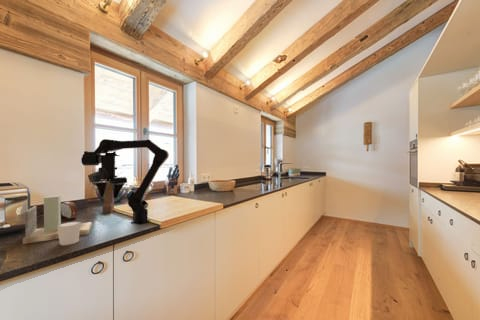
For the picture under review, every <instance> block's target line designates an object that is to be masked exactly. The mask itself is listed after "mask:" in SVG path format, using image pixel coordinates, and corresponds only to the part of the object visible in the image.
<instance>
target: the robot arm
mask: <svg viewBox="0 0 480 320" xmlns="http://www.w3.org/2000/svg"><path fill="white" fill-rule="evenodd" d="M143 148H144V149H145V148H146V149H148V150H149V151H150V152H151V153H152V154H154V156H153V159H152V162H151V163H152V164H151V165H150V168H149V169H148V171H147V173H145V176H144V178H143V179H142V182H141V184H140V185H139V186H138V189H134V190H132V191H131V192H130V195H129V197H128V198H127V200H128V201H127V204H128V205H127V206H129V207H130V209H131V211H132V221H130V223H131V224H136V225H142V224H145V223H147V222H150V221H149V220H150V219H148V217H149V216H148V213H149V212H148V209H147V208H148V206H149V203H148V202H147V201H146V200H145V199H146V195H147V191H148V190H149V187H150V186H151V184H152V182H153V180H154V178H155V177H156V175H157V173H158V172H159V169H160V168H161V166H163V165H164V163H165V162H167V160H168V159H169V151H167V150H166V149H162V148H161V147H159V146H158V145H157V143H156V144H155V142H154V141H153V140H151V139H143V140H140V139H139V140H116V139H115V140H114V139H107V138H105V139H102V140H101V141H100V142H99V145H98V146H97V148H96V149H95V150H94V151H89V150H88V151H87V150H86V151H83V154H82V156H81V164H82V165H83V167H84V166H99V165H100V166H101V167H99V168H98V171H95V172H93V173H90V174H88V175H87V177H88V180H89V183H91V184H92V185H94V186H95V187H96V189H97V191H98V194H99V196H100V197H101V198H104V192H105V188H106V184H107V182H111V184H110V185H111V186H112V187H113V196H114V199H117V197H118V195H119V193H120V192H121V190H122V188H123V187H124V186H125V185H126V183H128V178H127V177H126V176H118V175H116V170H118V167H116V157H120V156H121V155H120V154H119V153H118V152H117V151H121V150H124V149H143ZM105 181H106V182H105Z"/></svg>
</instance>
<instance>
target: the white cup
mask: <svg viewBox="0 0 480 320" xmlns="http://www.w3.org/2000/svg"><path fill="white" fill-rule="evenodd" d="M80 223H82V222H81V221H69V222H64V223H61V224H60V225H58V226H57V227H58V234H59V239H58V241H59V245H60V246H69V245H70V246H71V245H73V244H76V243H78V242H79V240H80V235H79V232H80Z"/></svg>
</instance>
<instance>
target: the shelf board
mask: <svg viewBox="0 0 480 320" xmlns="http://www.w3.org/2000/svg"><path fill="white" fill-rule="evenodd" d="M24 213H25V219H24V220H25V222H24V223H25V236H24V237H23V238H22V244H23V245H26V244H31V243H39V242H46V241H52V240H57V239H58V240H59V234H58V230H57V231H50V232H44V227H41V228H37V221H38V220H37V205H35V206H34V205H33V206H31V207H30V208H28V209H27V210H25V212H24ZM92 225H93V224H92V221H88V222H81V223H80V232H79V236H85V235H89V234H90V232H91V229H92Z"/></svg>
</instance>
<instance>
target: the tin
mask: <svg viewBox="0 0 480 320" xmlns="http://www.w3.org/2000/svg"><path fill="white" fill-rule="evenodd" d="M61 215H62V217H63V218H66V219H69V220H72V219H76V218H77V216H78V208H77V205H76V203H74V202H72V201H69V200H67V201H62V202H61Z"/></svg>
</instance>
